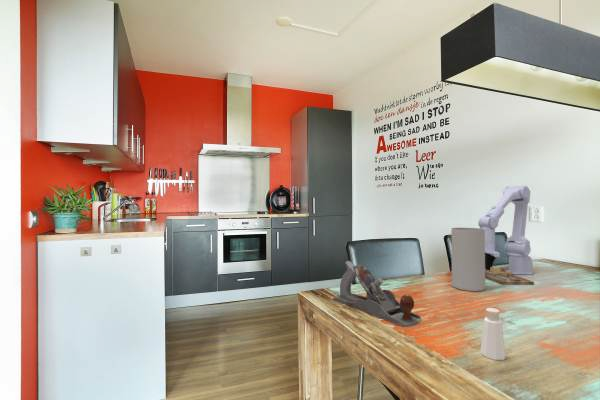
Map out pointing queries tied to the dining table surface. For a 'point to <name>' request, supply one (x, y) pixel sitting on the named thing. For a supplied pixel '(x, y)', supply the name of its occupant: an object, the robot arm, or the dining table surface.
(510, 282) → the slide rail board
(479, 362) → the dining table surface
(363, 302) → the hand plane
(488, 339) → the salt shaker
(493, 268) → the block
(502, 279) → the trammel
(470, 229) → the cylinder vase
